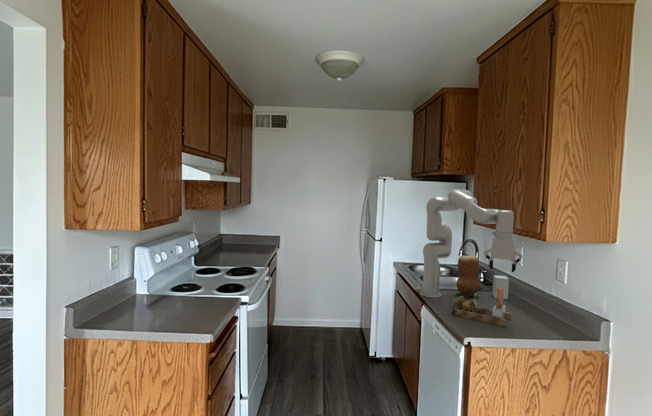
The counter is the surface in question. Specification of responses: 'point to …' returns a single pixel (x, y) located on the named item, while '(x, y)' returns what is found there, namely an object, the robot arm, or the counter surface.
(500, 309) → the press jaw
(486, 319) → the press frame
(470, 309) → the onion
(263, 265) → the counter surface
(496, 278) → the supplement box
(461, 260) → the butternut squash
